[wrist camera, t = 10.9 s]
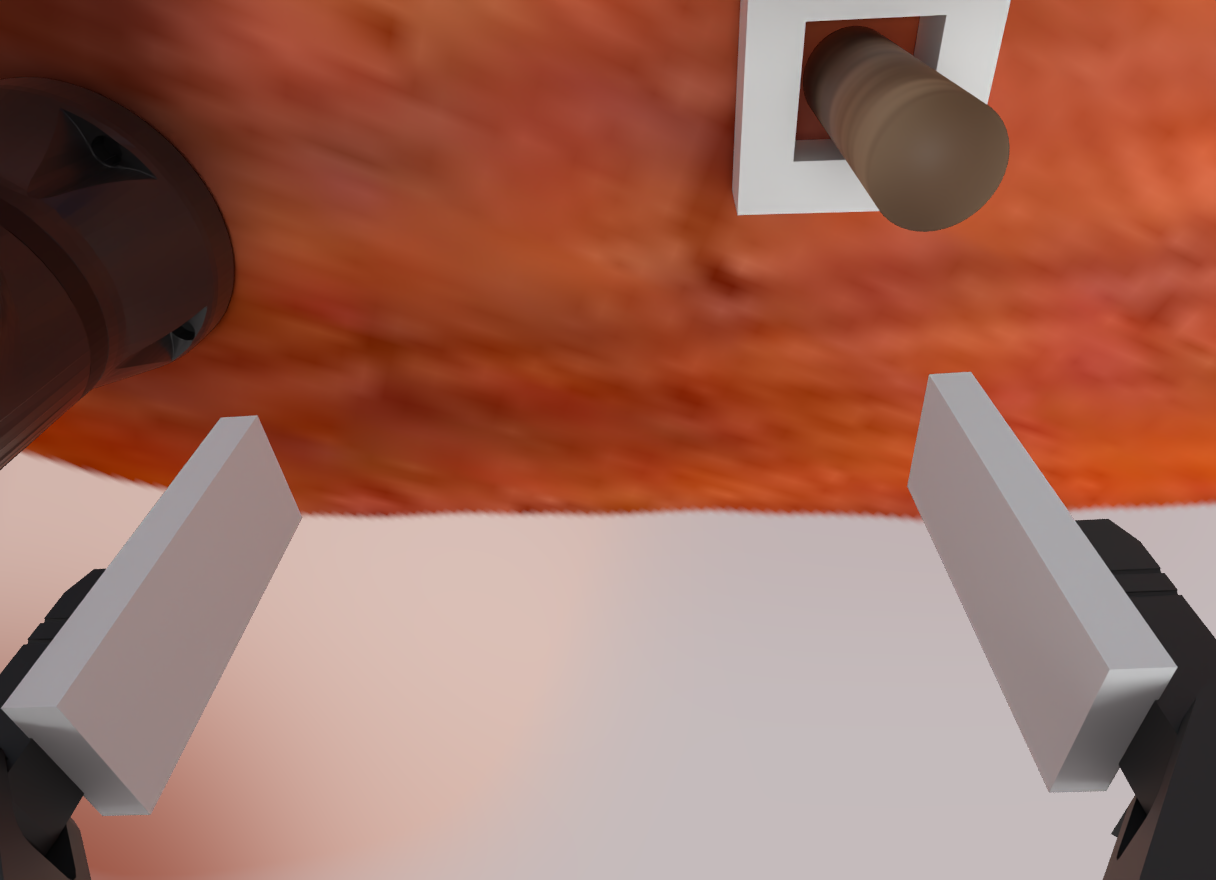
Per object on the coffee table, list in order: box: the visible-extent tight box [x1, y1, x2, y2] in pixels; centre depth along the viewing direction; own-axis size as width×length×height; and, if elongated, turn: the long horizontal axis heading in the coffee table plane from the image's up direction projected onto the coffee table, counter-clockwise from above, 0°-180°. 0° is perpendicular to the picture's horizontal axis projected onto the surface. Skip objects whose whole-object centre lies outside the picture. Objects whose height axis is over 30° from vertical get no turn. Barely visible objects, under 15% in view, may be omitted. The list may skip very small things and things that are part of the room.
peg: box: [803, 26, 1009, 232], centre depth 28 cm, size 4×4×14 cm
